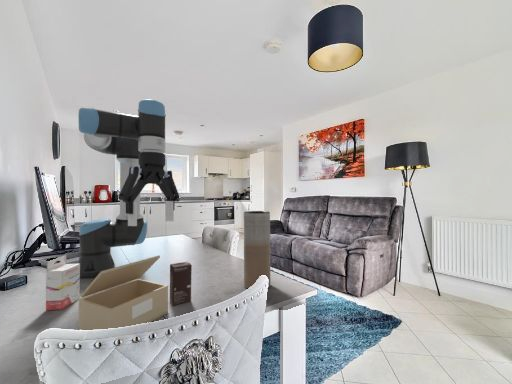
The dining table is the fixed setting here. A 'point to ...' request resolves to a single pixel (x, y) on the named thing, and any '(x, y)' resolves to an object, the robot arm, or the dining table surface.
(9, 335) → the dining table surface
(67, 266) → the ink cartridge box
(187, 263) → the box
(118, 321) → the carton
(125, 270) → the lid
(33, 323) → the dining table surface
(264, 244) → the burlap textured cylinder
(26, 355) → the dining table surface
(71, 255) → the desk tidy frame
